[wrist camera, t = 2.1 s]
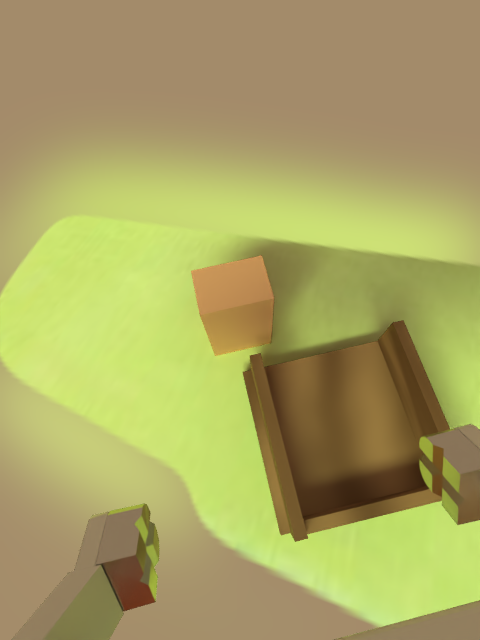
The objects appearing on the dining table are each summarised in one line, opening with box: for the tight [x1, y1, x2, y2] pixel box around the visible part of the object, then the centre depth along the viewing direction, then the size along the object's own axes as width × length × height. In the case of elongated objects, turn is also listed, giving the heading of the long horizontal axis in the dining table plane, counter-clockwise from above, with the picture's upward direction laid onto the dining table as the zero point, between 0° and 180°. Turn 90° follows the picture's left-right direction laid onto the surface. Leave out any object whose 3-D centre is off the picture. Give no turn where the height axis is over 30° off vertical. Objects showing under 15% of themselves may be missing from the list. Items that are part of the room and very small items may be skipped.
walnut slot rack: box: [243, 320, 450, 542], centre depth 28 cm, size 13×12×5 cm
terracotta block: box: [191, 255, 274, 356], centre depth 30 cm, size 5×3×9 cm
